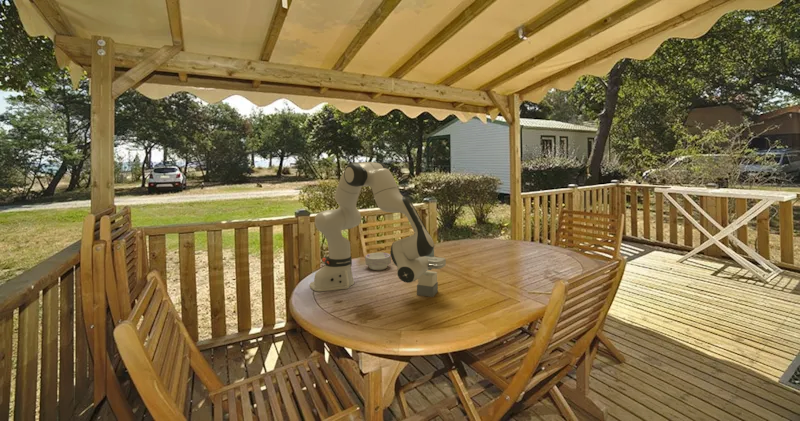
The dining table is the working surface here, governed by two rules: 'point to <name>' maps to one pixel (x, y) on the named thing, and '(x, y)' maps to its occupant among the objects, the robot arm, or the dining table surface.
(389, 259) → the paper bowls
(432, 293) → the tower base
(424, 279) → the tower top
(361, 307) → the dining table surface
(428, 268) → the blue pillar
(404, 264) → the robot arm
